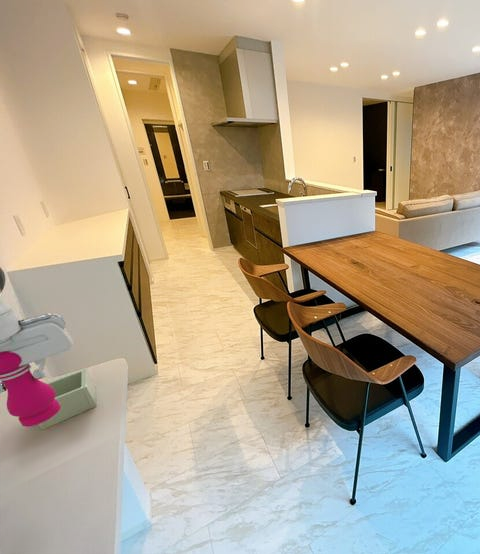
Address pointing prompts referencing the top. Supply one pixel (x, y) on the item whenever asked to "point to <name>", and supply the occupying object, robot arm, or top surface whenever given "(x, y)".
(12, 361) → the pepper mill
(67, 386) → the holder
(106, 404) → the top surface
